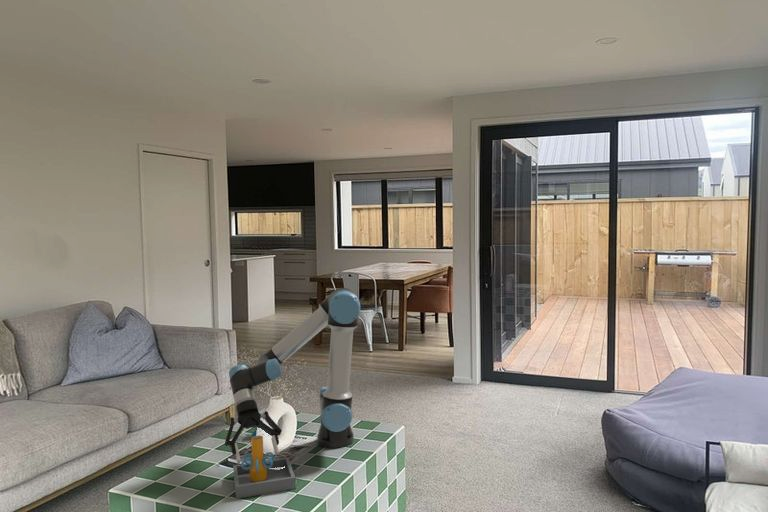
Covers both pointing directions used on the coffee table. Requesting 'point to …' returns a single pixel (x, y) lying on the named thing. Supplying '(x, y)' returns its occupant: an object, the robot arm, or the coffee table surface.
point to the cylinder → (257, 460)
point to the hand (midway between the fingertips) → (258, 457)
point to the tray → (273, 483)
